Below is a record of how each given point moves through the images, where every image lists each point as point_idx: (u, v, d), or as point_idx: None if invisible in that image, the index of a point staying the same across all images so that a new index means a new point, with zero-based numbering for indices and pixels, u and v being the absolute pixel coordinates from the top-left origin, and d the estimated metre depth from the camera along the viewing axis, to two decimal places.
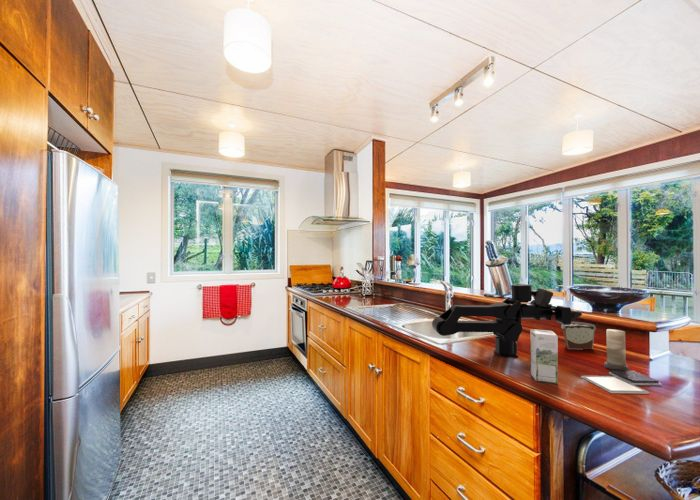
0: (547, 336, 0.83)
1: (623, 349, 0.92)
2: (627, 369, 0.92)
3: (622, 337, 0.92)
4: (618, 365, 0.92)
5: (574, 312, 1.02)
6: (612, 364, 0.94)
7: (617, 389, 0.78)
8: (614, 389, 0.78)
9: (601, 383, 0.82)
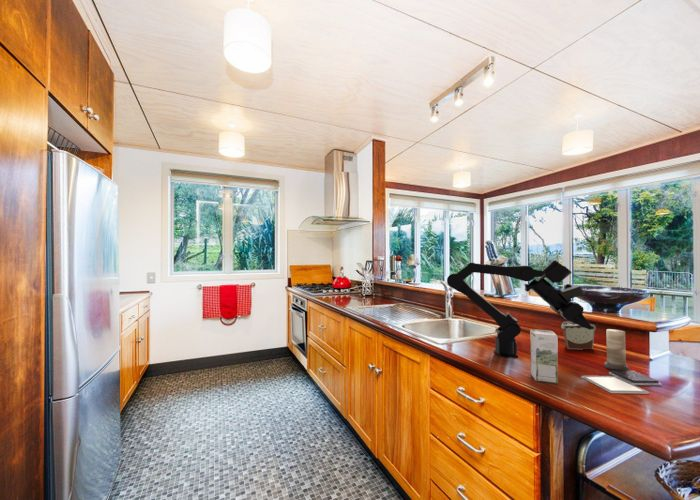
0: (547, 336, 0.83)
1: (623, 349, 0.92)
2: (627, 369, 0.92)
3: (622, 337, 0.92)
4: (618, 365, 0.92)
5: (584, 320, 0.94)
6: (612, 364, 0.94)
7: (617, 389, 0.78)
8: (614, 389, 0.78)
9: (601, 383, 0.82)
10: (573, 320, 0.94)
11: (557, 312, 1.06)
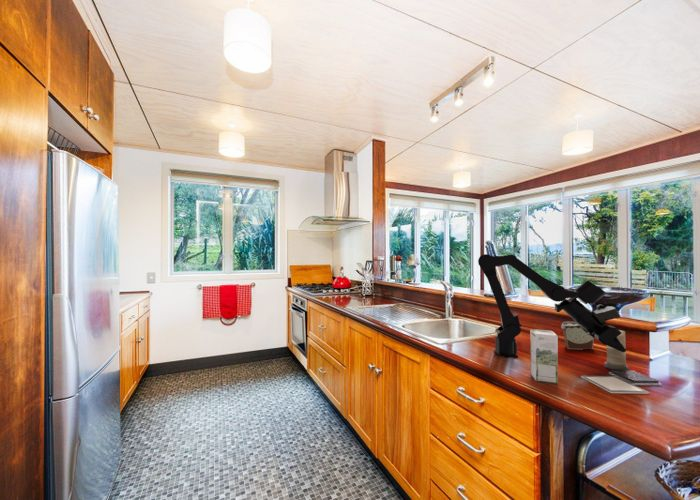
0: (547, 336, 0.83)
1: None
2: (627, 369, 0.92)
3: (622, 337, 0.92)
4: (618, 365, 0.92)
5: (618, 342, 0.92)
6: (612, 364, 0.94)
7: (617, 389, 0.78)
8: (614, 389, 0.78)
9: (601, 383, 0.82)
10: (606, 343, 0.92)
11: (591, 335, 1.00)
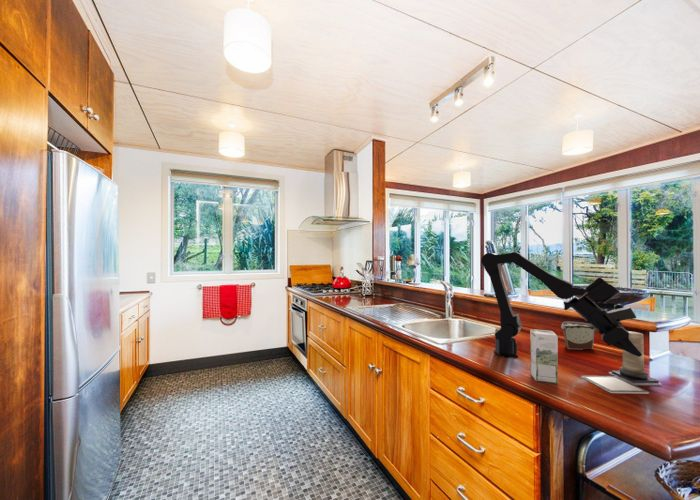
0: (547, 336, 0.83)
1: None
2: (644, 375, 0.83)
3: (638, 340, 0.84)
4: (633, 370, 0.84)
5: (632, 345, 0.84)
6: (626, 369, 0.86)
7: (617, 389, 0.78)
8: (614, 389, 0.78)
9: (601, 383, 0.82)
10: (617, 344, 0.85)
11: None
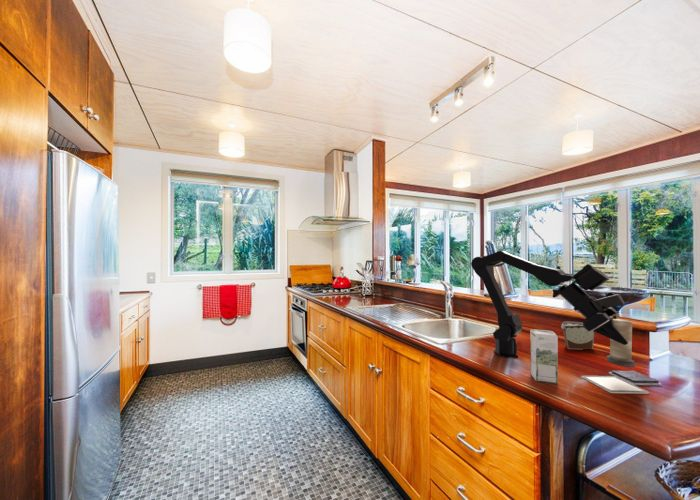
0: (547, 336, 0.83)
1: None
2: (629, 364, 0.81)
3: (624, 328, 0.82)
4: (618, 358, 0.82)
5: (616, 333, 0.82)
6: (612, 357, 0.84)
7: (617, 389, 0.78)
8: (614, 389, 0.78)
9: (601, 383, 0.82)
10: (601, 332, 0.84)
11: None
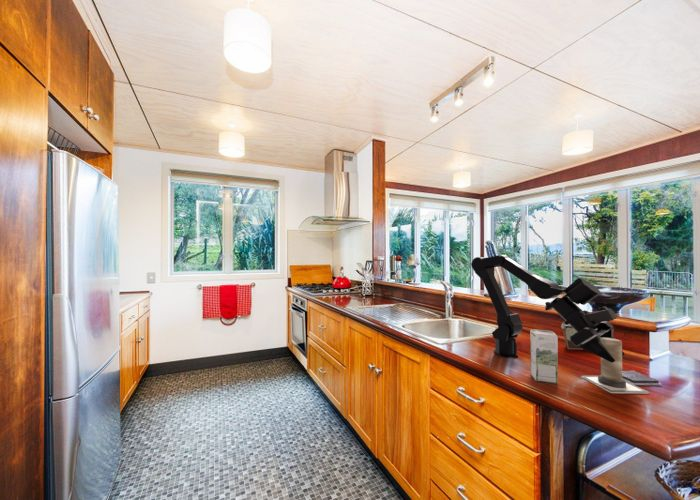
0: (547, 336, 0.83)
1: None
2: (618, 384, 0.79)
3: (613, 347, 0.81)
4: (607, 378, 0.81)
5: (603, 350, 0.80)
6: (602, 376, 0.83)
7: (617, 389, 0.78)
8: (614, 389, 0.78)
9: (601, 383, 0.82)
10: (588, 348, 0.82)
11: None
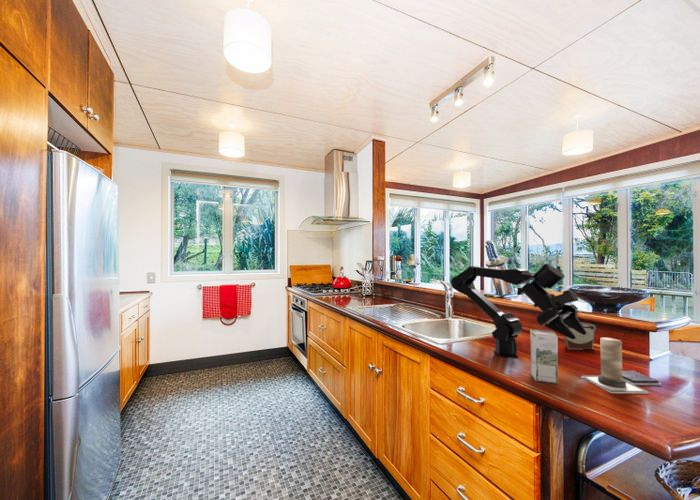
0: (547, 336, 0.83)
1: (614, 361, 0.80)
2: (618, 384, 0.79)
3: (613, 347, 0.81)
4: (607, 378, 0.81)
5: (565, 328, 0.87)
6: (602, 376, 0.83)
7: (617, 389, 0.78)
8: (614, 389, 0.78)
9: (601, 383, 0.82)
10: (552, 327, 0.89)
11: None
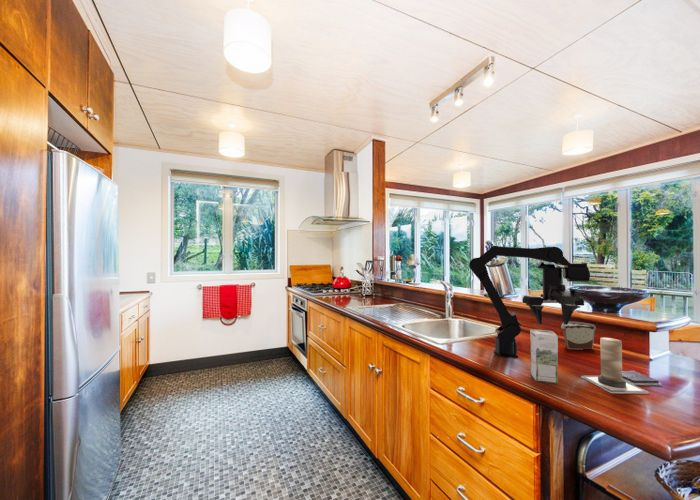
0: (547, 336, 0.83)
1: (614, 361, 0.80)
2: (618, 384, 0.79)
3: (613, 348, 0.81)
4: (607, 378, 0.81)
5: (538, 315, 1.01)
6: (602, 376, 0.83)
7: (617, 389, 0.78)
8: (614, 389, 0.78)
9: (601, 383, 0.82)
10: (531, 308, 1.04)
11: None
